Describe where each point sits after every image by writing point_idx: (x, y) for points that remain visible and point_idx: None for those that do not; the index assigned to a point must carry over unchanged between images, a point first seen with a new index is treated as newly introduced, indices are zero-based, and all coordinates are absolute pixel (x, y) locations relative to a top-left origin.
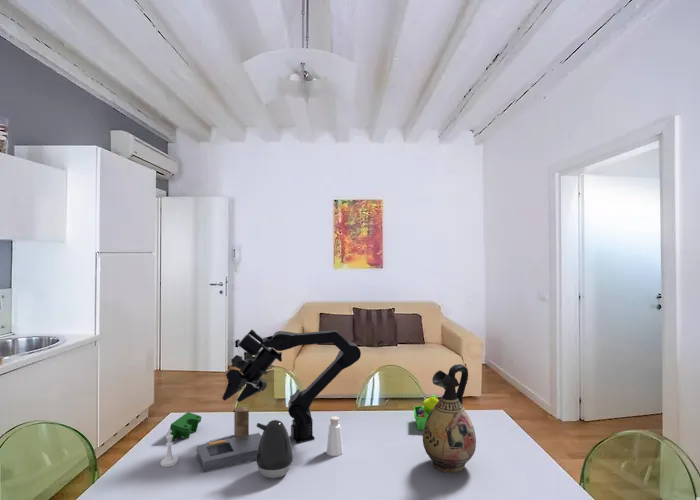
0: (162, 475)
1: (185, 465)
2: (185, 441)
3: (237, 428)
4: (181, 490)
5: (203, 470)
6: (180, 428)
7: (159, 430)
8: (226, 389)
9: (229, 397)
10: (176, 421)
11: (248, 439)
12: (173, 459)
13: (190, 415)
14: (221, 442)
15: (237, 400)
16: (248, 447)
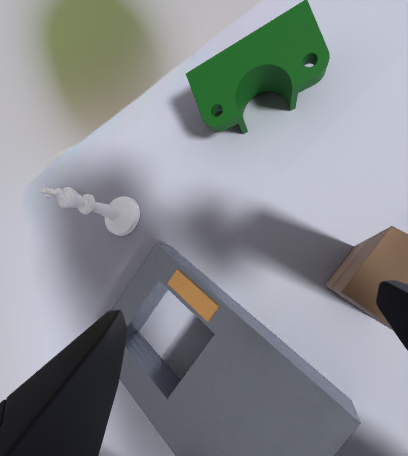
0: (82, 251)
1: (125, 263)
2: (223, 145)
3: (331, 288)
4: (52, 339)
5: None
6: (200, 111)
7: (246, 19)
8: (8, 406)
9: (107, 403)
10: (212, 63)
11: (270, 403)
12: (118, 225)
13: (293, 34)
14: (196, 311)
15: (380, 288)
16: (209, 444)
